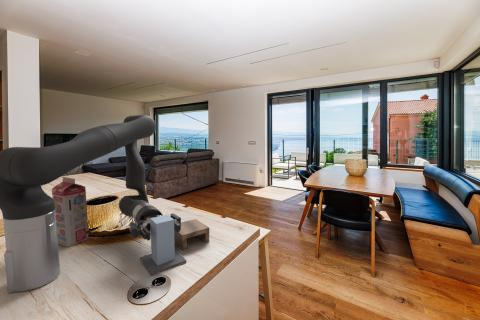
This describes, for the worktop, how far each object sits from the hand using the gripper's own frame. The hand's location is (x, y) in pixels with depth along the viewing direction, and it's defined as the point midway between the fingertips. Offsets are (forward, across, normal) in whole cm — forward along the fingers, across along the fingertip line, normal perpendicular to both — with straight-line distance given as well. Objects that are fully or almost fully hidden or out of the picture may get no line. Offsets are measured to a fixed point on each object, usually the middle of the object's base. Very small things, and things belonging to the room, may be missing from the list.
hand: (164, 232), depth 62 cm
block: (-2, 0, +9) cm, 9 cm away
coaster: (-2, 0, +9) cm, 9 cm away
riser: (-9, +12, +9) cm, 18 cm away
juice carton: (-33, -20, +9) cm, 40 cm away
